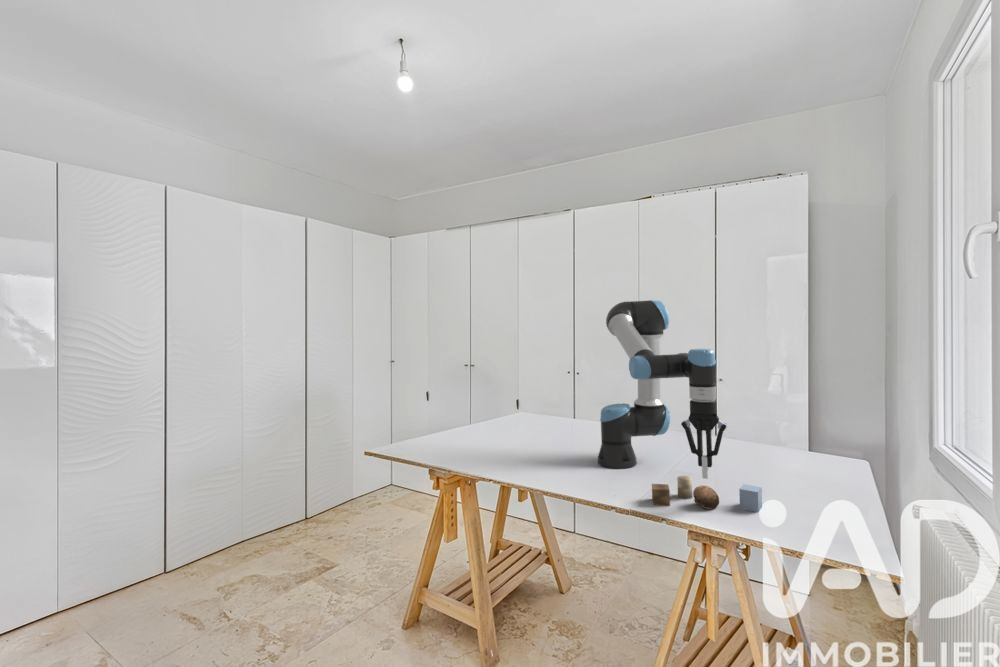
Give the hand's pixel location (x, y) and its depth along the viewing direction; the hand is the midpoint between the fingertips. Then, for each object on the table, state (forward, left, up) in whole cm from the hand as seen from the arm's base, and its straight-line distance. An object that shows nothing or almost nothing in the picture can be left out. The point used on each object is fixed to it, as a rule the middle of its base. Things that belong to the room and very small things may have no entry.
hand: (705, 477), depth 147 cm
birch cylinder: (-7, +6, -9) cm, 13 cm away
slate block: (+12, +4, -9) cm, 16 cm away
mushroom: (0, 0, -9) cm, 9 cm away
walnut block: (-13, -2, -9) cm, 16 cm away
